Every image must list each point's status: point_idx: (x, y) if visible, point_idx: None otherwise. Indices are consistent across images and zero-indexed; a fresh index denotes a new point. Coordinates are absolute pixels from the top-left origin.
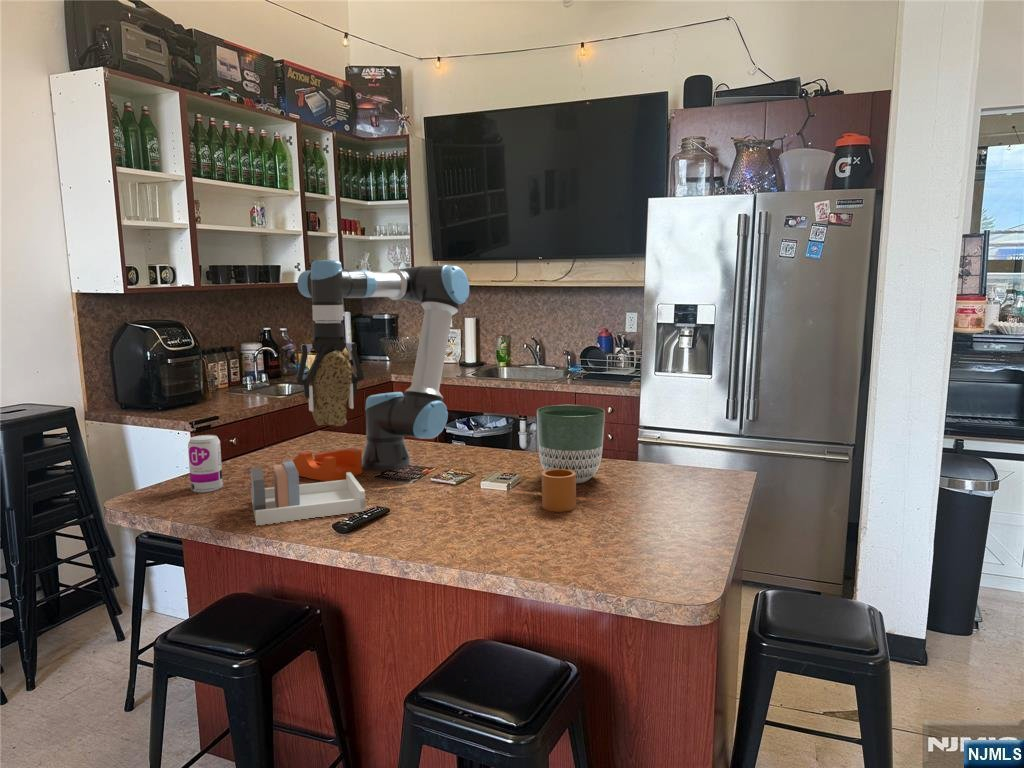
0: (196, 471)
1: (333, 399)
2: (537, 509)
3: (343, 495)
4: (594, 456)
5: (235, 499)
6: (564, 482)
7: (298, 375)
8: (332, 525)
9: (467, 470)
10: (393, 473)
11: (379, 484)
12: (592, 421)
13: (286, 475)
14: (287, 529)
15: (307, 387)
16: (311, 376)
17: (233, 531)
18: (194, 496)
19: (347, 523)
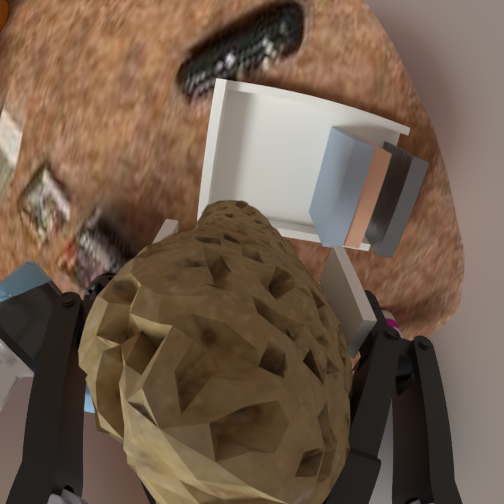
0: (400, 332)
1: (258, 237)
2: (13, 13)
3: (228, 177)
4: None
5: (370, 266)
6: None
7: (437, 367)
8: (299, 46)
9: (23, 229)
10: (115, 271)
11: (147, 226)
12: None
13: (374, 150)
14: (368, 75)
15: (375, 324)
16: (378, 363)
17: (428, 124)
18: (398, 302)
19: (273, 40)
